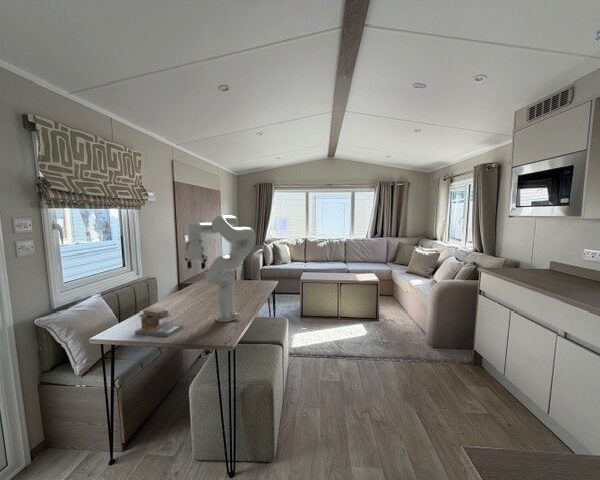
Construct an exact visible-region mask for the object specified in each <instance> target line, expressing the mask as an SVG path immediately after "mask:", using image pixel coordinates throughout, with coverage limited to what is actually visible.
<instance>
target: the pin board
mask: <svg viewBox="0 0 600 480" xmlns="http://www.w3.org/2000/svg"><path fill="white" fill-rule="evenodd" d="M182 329H183V325H182V324H181V325H180V324H174V319H167V318H166V319H165V320H164V321H162V323H159V326H158V327H156V328H154V329H152V330H147V329H142V327H141V328H139V329H137V330H135V331H134V333H136V334H135V335H141V334H145V335H146V336H155V337H170V336H172V335H174V334H175V333H177V332H179V331H180V330H182ZM145 335H144V336H145Z"/></svg>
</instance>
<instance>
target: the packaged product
mask: <svg viewBox="0 0 600 480" xmlns="http://www.w3.org/2000/svg"><path fill="white" fill-rule="evenodd" d="M168 312H169V311H168V310H167V309H165V308H161V307H156V306H147V307H146V308H145V309H143V310H142V313H139V316H141V317H145V316H147V315H159V320H161V319H164V318H168V317H171V313H168Z"/></svg>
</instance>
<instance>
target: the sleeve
mask: <svg viewBox="0 0 600 480" xmlns="http://www.w3.org/2000/svg"><path fill="white" fill-rule="evenodd" d="M140 321H141V323H140V324H141V328H142V329H147V330H152V329H154V328H156V327H158V326H159V324H160V319H159V315H147V316H145V317H144V316H142V317H141V318H140Z"/></svg>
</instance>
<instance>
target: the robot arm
mask: <svg viewBox="0 0 600 480" xmlns="http://www.w3.org/2000/svg"><path fill="white" fill-rule="evenodd" d="M239 224H240V223H239V220H238V218H237V216H235V215H230V214H229V215H226V214H225V215H218V216H216V217H214V219H212V221H211V222H190V223H189V224H188V242H189V243H188V245H187V253H186V254H184V255H183V258H184V261H186V263H187V270H189V269H191V268H192V266H193V265H192V261H200V262H201V263H200V267H201V269H202V270H204V269H206V262H207V261H208V259H209V257H210V256H209V255H208V254H206V253H205V247H204V244H203V243H204V240H202V235H203V236H204V235H213V234H214V235H215V234H219V235H220V236H222V238H223V239H224V240H225V241H227V242H228V243H231V244H235V243H238V244H236V245H235V246H234V247H233V248H232V251H231V252H230V253H229V254H226V255H225V254H224V255H220V256H217V257H216V258H214V260H213V261H212V263H211V265H210V267H209V268H208V270H207V271H206V273H205V280H206V283H207V284H208V285H210V286H217V285H218V287H217V315H216V316H215V320H216V321H217V322H220V323H223V322H227V323H228V322H231V321H235V320H237V318H240V317H241V313H240V312H237V310H236V309H235V290H234V285H235V277H236V272H235V271H237V270H238V269H239V268H240V267H241V266H242V264H243V262H244V261H245V259H246V257H247V256H249V255H248V254H250V252H251V251H252V250H253V248H254V247H255V243H256V233H255V232H256V231H254V229H253V228H252V227H247V226H239Z"/></svg>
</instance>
